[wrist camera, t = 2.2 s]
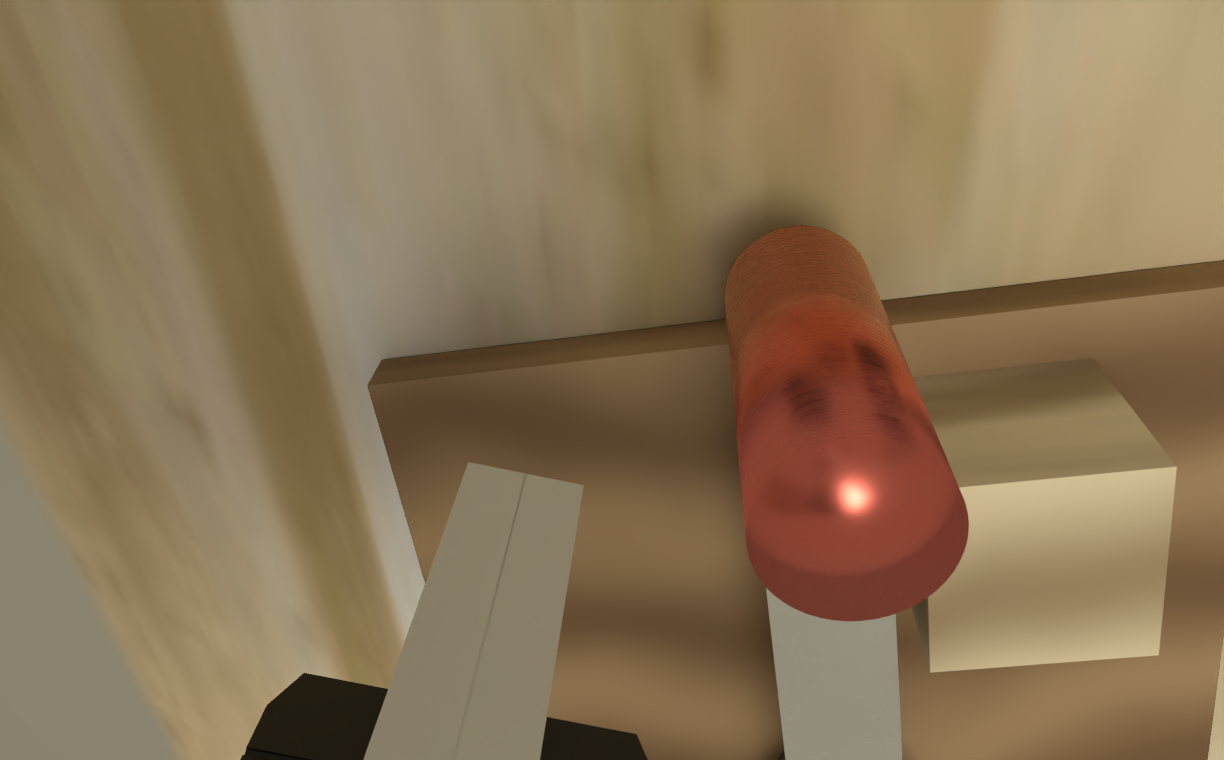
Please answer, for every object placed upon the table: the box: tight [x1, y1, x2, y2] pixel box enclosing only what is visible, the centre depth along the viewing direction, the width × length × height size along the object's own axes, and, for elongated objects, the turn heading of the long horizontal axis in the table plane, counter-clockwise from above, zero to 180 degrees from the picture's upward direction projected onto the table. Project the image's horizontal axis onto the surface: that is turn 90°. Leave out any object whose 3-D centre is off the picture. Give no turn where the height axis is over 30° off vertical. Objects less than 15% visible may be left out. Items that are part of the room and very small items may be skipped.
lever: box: [724, 226, 969, 760], centre depth 24 cm, size 21×5×9 cm, turn 9°
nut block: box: [911, 358, 1177, 673], centre depth 25 cm, size 5×5×5 cm
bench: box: [368, 261, 1224, 760], centre depth 28 cm, size 18×22×8 cm
